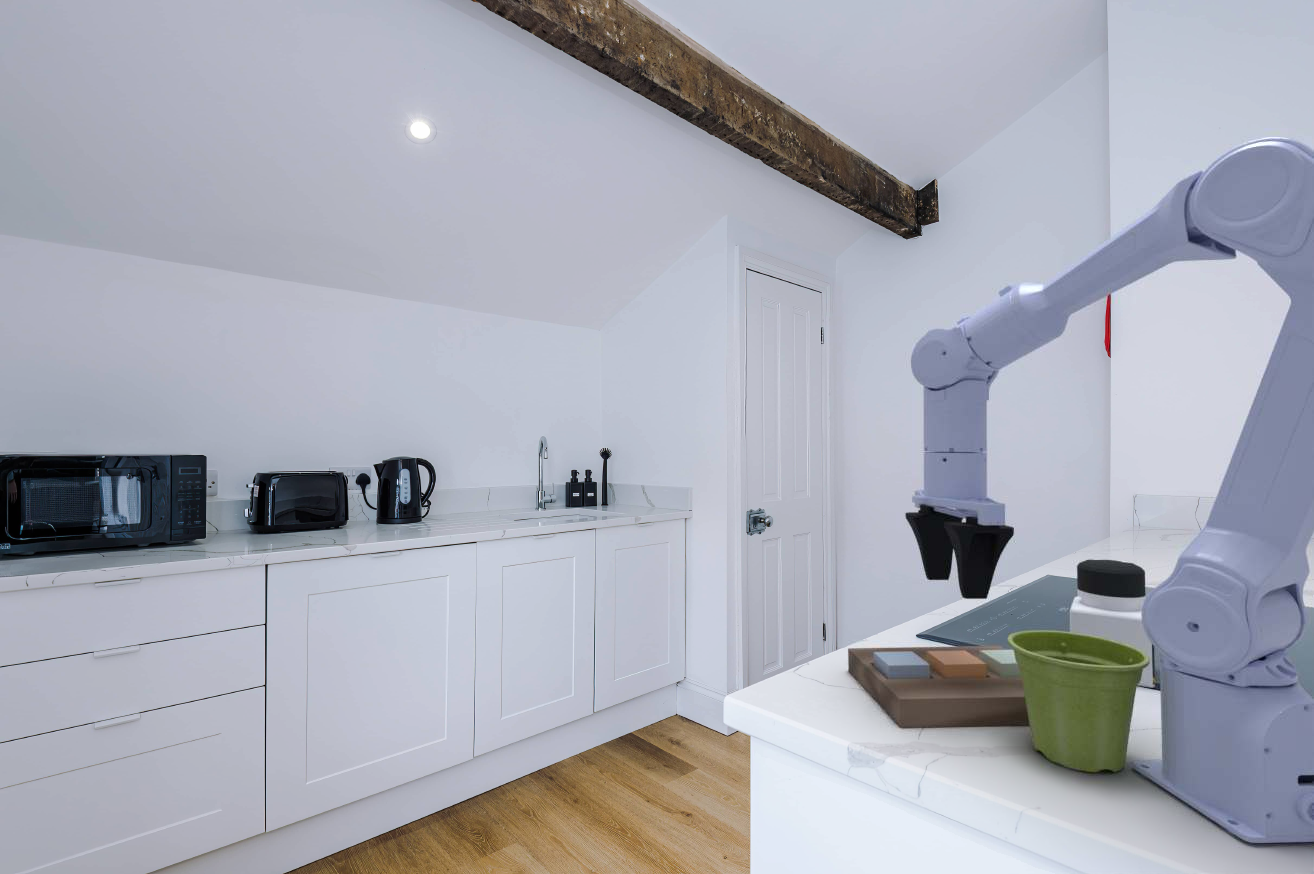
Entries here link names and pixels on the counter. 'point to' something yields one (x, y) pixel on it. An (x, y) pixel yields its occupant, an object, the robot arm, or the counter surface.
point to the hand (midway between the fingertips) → (954, 588)
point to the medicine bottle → (1113, 606)
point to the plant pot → (1079, 695)
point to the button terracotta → (956, 664)
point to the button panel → (942, 693)
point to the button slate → (901, 665)
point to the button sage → (1001, 662)
